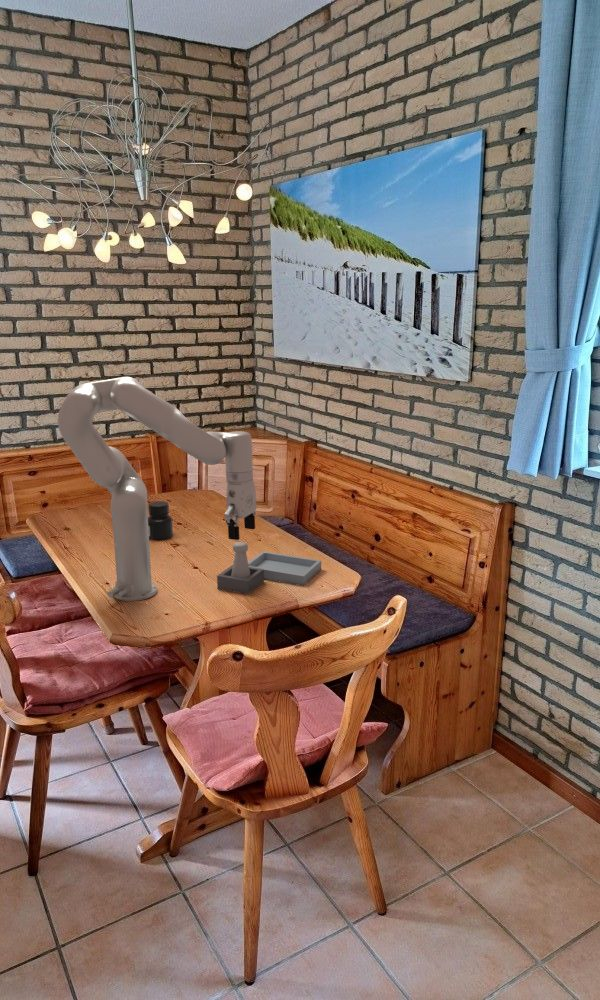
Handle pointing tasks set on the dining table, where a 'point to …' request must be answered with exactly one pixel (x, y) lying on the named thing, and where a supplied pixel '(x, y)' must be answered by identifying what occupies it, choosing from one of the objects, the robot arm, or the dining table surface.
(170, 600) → the dining table surface
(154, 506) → the ink bottle
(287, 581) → the tray
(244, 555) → the salt shaker
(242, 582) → the holder
